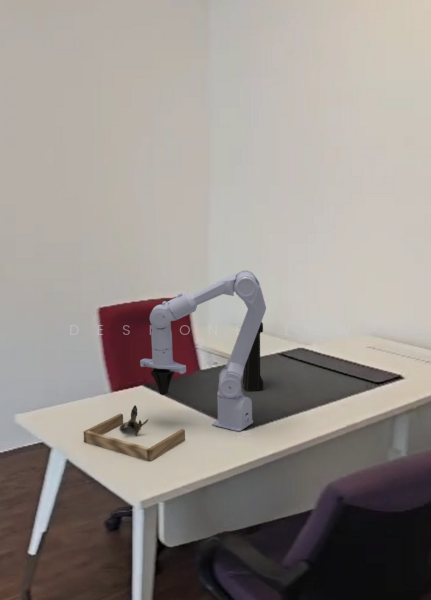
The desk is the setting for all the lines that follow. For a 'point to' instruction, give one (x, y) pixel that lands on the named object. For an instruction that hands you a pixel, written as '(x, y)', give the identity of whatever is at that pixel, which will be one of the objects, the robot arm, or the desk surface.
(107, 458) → the desk surface
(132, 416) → the eagle figurine
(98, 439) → the box
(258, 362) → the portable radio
